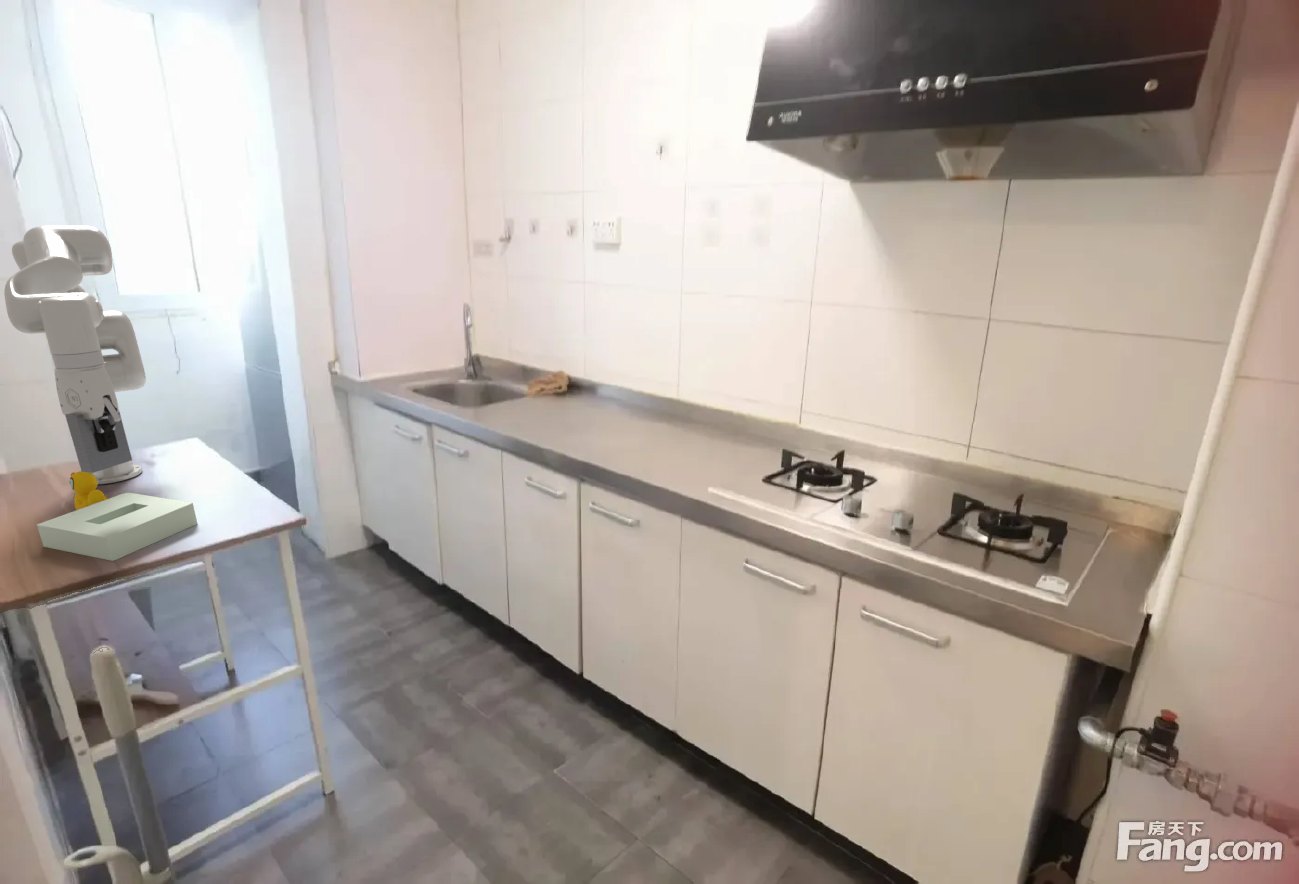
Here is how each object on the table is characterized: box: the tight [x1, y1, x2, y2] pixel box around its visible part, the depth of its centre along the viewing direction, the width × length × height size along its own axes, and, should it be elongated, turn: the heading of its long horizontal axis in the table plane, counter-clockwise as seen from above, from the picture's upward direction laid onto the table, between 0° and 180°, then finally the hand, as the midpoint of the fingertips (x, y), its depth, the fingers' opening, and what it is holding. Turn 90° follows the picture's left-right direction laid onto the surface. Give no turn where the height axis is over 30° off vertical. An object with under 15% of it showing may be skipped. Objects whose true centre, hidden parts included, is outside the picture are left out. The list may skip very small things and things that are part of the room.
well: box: [36, 491, 198, 562], centre depth 140 cm, size 20×18×5 cm
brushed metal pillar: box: [64, 411, 133, 473], centre depth 135 cm, size 3×8×12 cm, turn 163°
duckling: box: [69, 470, 109, 511], centre depth 150 cm, size 11×5×10 cm, turn 59°
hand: (102, 448), depth 136 cm, fingers closed on brushed metal pillar, 3 cm apart
